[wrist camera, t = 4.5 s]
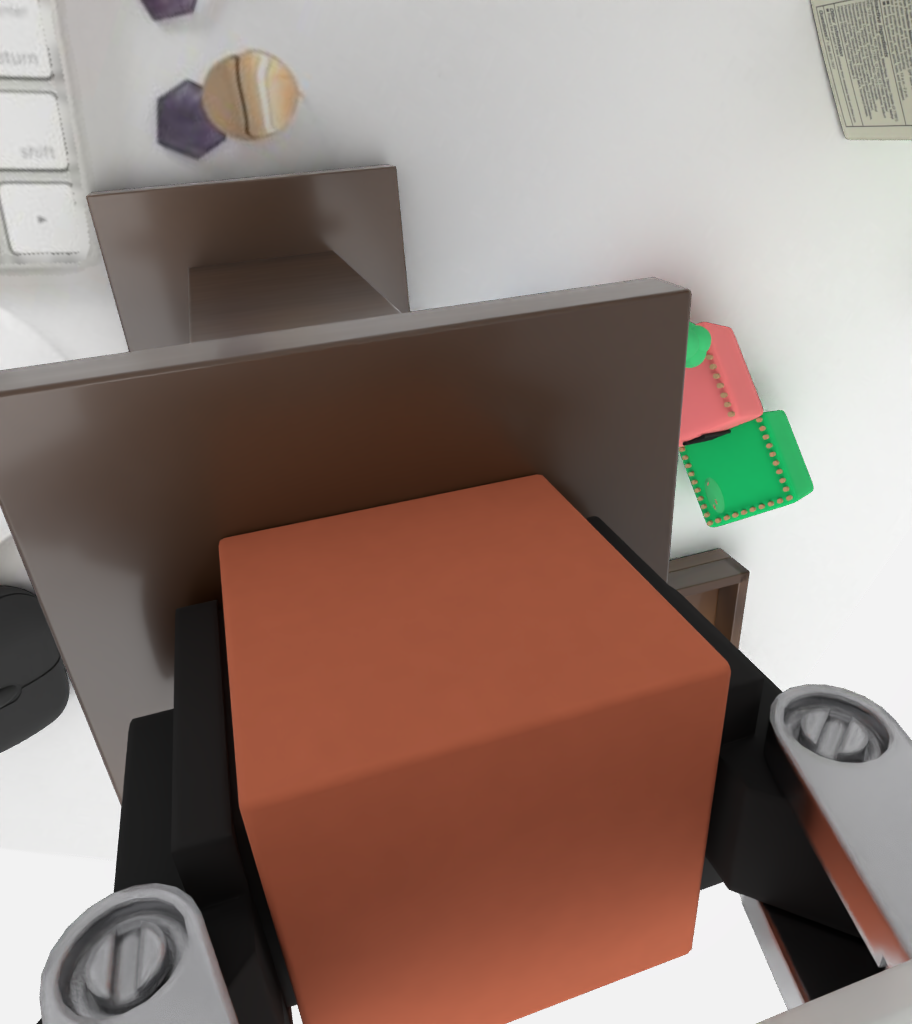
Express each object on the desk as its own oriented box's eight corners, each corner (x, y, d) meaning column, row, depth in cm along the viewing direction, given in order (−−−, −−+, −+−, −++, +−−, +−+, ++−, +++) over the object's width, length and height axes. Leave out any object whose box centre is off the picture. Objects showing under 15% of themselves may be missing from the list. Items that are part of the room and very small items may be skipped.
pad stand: (89, 192, 25) (-119, 360, 8) (388, 164, 27) (730, 246, 10) (166, 469, 29) (141, 947, 13) (414, 425, 32) (674, 776, 15)
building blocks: (606, 398, 40) (483, 402, 30) (760, 327, 35) (675, 305, 25) (659, 540, 39) (552, 592, 29) (823, 488, 34) (760, 530, 25)
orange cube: (216, 536, 10) (237, 807, 6) (541, 470, 11) (736, 664, 7) (279, 783, 12) (323, 1097, 8) (544, 708, 13) (693, 954, 9)
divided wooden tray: (583, 580, 38) (607, 608, 36) (720, 547, 40) (750, 571, 38) (579, 775, 45) (599, 807, 43) (697, 739, 47) (721, 768, 45)
